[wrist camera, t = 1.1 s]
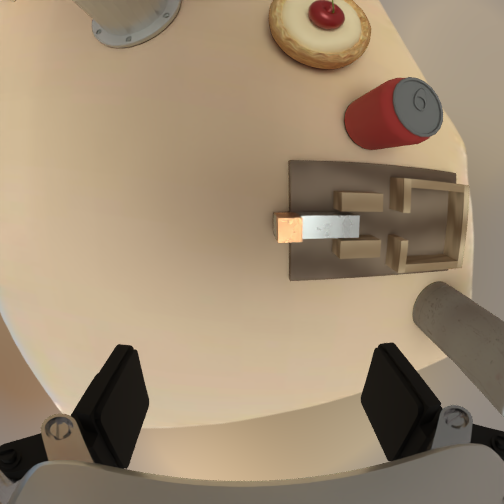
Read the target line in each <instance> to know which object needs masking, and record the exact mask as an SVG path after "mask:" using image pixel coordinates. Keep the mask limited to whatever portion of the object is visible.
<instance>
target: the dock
mask: <svg viewBox="0 0 504 504" xmlns="http://www.w3.org/2000/svg"><path fill="white" fill-rule="evenodd" d="M468 208H469V185H462V184H456V173H451V172H444V171H437V170H429V169H421V168H413V167H403V166H393V165H382V164H369V163H353V162H333V161H292V160H290V161H289V212H351V213H354V214H357V215H359V216H360V222H359V238H320V239H302V242H290V245H289V279H290V281H300V280H320V279H338V278H355V277H370V276H385V275H398V274H411V273H423V272H435V271H446V270H448V269H454V268H462V263H463V256H464V249H465V241H466V232H467V221H468Z"/></svg>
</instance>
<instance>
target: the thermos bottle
mask: <svg viewBox="0 0 504 504" xmlns="http://www.w3.org/2000/svg"><path fill="white" fill-rule="evenodd" d="M413 320H414V322H415V324H416V325H417V326H418V327H419V328H420V329H421V330H422V331H423V332H424V333H425V334H426V335H427V336H428V337H429V338H430V339H431V340H432V341H433V342H434V343H435V344H436V345H437V346H438V347H439V348H440V349H441V350H442V351H443V352H444V353H445V354H446V355H447V356H448V357H449V358H450V359H451V360H453V361H454V362H455V364H456V365H457V366H458V367H459V368H460V369H461V370H462V372H463V373H464V374H465V375H466V376H467V377H468V378H469V379H470V380H471V381H472V382H473V384H474V385H475V386H476V387H477V388H478V389H479V390H480V391H481V392H482V393H483V394H484V396H485V397H486V398H487V399H488V400H489V401H490V402H491V403H492V405H493V406H494V407H495V408H496V409H497V410H498V411H499V412H500V414H501V415H502V416H503V417H504V322H503V321H502V320H500V319H499V318H498V317H496V316H495V315H493V314H492V313H490V312H489V311H487V310H486V309H484V308H482V307H481V306H479V305H478V304H476V303H475V302H474V301H472V300H471V299H469V298H468V297H466V296H465V295H463V294H462V293H460V292H459V291H457V290H455V289H454V288H452V287H451V286H449V285H448V284H446V283H444V282H435V283H432V284H430V285H429V286H427V287H426V288H425V289H424V290H423V291H422V292H421V293H420V295H419V296H418V298H417V300H416V302H415V305H414V308H413Z"/></svg>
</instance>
